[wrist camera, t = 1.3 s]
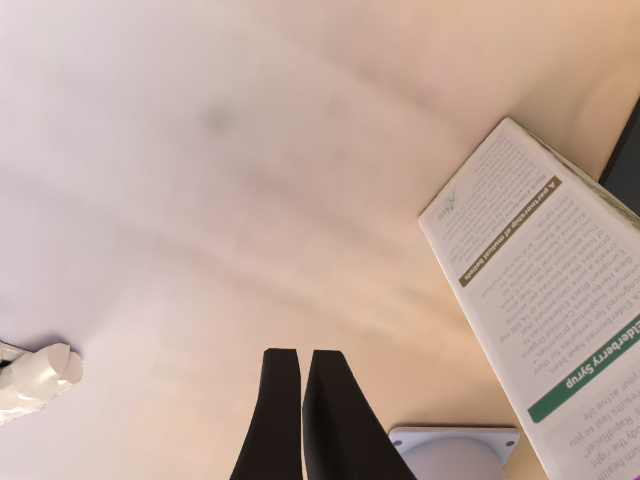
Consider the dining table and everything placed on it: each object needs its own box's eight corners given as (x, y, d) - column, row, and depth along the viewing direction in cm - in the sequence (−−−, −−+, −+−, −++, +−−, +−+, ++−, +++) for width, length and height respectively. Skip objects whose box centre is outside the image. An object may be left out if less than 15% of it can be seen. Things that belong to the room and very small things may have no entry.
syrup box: (411, 219, 23) (583, 592, 11) (507, 106, 20) (866, 426, 8) (503, 272, 25) (731, 631, 13) (601, 175, 23) (992, 507, 11)
